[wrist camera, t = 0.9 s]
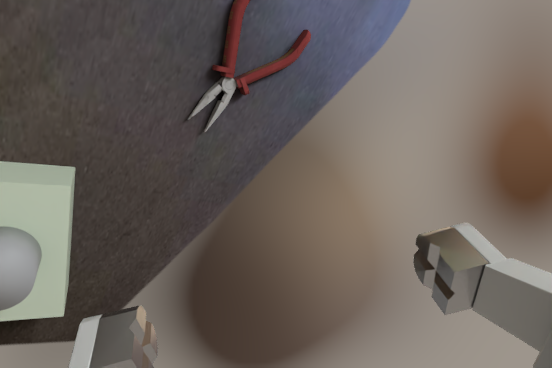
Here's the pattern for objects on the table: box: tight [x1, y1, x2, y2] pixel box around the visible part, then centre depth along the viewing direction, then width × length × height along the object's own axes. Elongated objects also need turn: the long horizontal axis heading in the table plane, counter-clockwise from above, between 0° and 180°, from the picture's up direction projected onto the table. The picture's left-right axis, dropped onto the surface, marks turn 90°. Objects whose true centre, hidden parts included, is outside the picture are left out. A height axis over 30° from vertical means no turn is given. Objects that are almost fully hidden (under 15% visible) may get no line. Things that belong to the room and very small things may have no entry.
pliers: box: [188, 0, 311, 132], centre depth 50 cm, size 12×20×3 cm, turn 141°
